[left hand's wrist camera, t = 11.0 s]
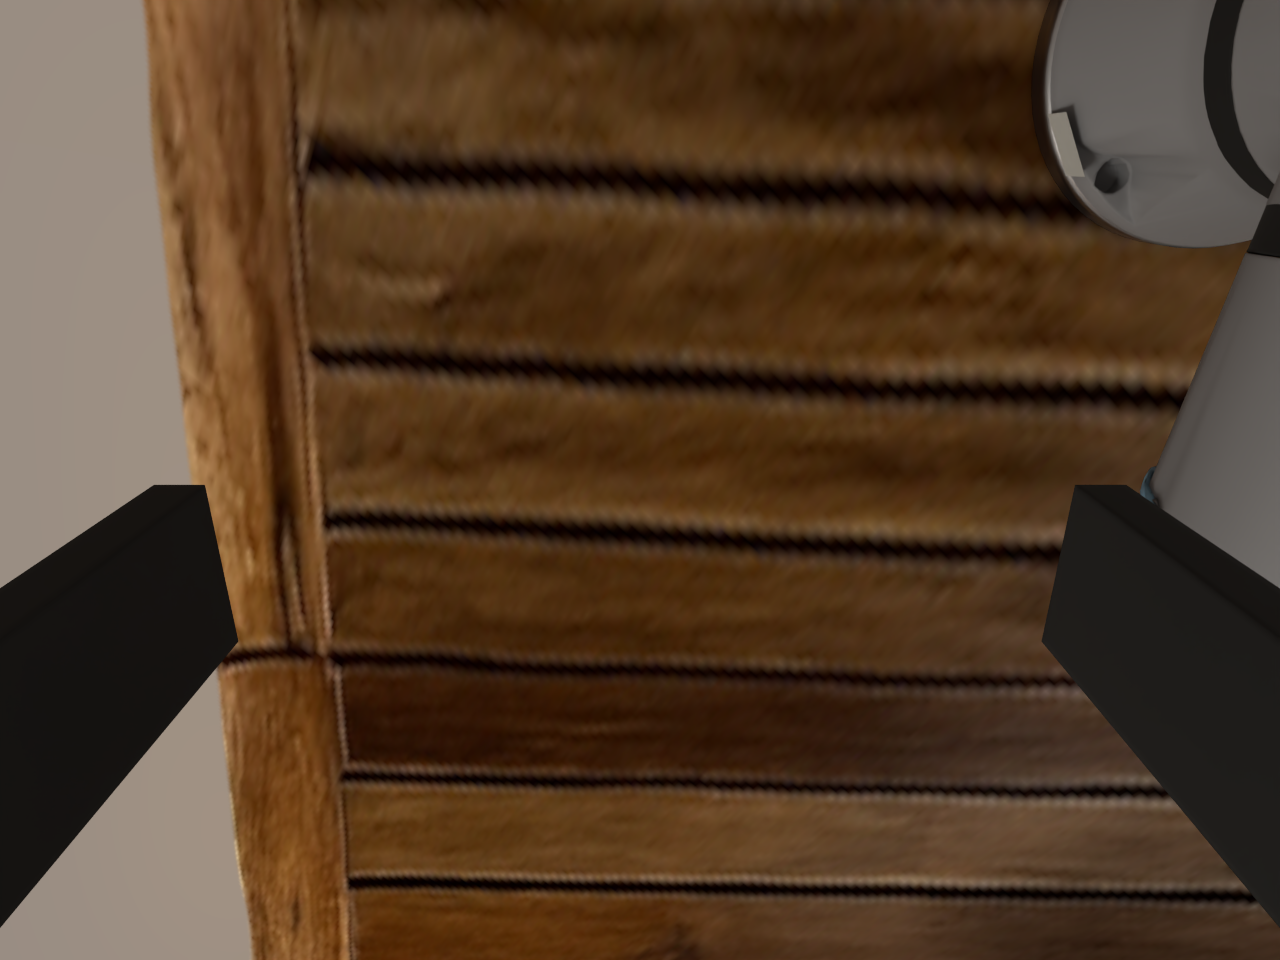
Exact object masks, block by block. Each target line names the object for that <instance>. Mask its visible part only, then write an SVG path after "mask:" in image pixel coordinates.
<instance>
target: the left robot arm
mask: <svg viewBox="0 0 1280 960" xmlns="http://www.w3.org/2000/svg"><path fill="white" fill-rule="evenodd" d="M1031 97H1032V113H1033V120H1034V126H1035V132H1036V136H1037V140H1038V143H1039V147H1040V150H1041V153H1042V156H1043V158H1044V161H1045V163H1046V166H1047V168H1048V170H1049V171H1050V173H1051V175H1052V177H1053V179H1054V181H1055V182H1056V184H1057V185H1058V187H1059V188H1060V190H1061V191H1062V193H1063V194H1064V195H1065V196H1066V197H1067V198H1068V200H1069V201H1070V202H1071V203H1072V204H1073V205H1074V206H1075V207H1076V208H1077V209H1078V210H1079V211H1080V212H1081V213H1082V214H1084V215H1085V216H1086V217H1088V218H1089V219H1090V220H1092V221H1093V222H1094V223H1096V224H1097V225H1099V226H1101V227H1103V228H1105V229H1107V230H1108V231H1110V232H1113V233H1115V234H1118V235H1120V236H1123V237H1125V238H1129V239H1133V240H1136V241H1140V242H1146V243H1152V244H1158V245H1164V246H1171V247H1178V248H1208V247H1216V246H1223V245H1229V244H1234V243H1239V242H1244V241H1248V240H1252V241H1251V243H1250V246H1249V248H1248V250H1247V252H1248V253H1245V255H1244V258H1243V260H1242V263H1241V265H1240V267H1239V270H1238V272H1237V275H1236V277H1235V279H1234V282H1233V284H1232V287H1231V289H1230V291H1229V294H1228V296H1227V299H1226V301H1225V303H1224V306H1223V308H1222V311H1221V313H1220V315H1219V318H1218V320H1217V322H1216V325H1215V327H1214V330H1213V332H1212V334H1211V337H1210V339H1209V342H1208V344H1207V346H1206V349H1205V351H1204V354H1203V356H1202V358H1201V361H1200V363H1199V366H1198V368H1197V370H1196V373H1195V375H1194V378H1193V380H1192V382H1191V385H1190V387H1189V390H1188V392H1187V394H1186V397H1185V399H1184V402H1183V404H1182V406H1181V409H1180V411H1179V414H1178V416H1177V418H1176V421H1175V423H1174V426H1173V428H1172V430H1171V433H1170V435H1169V438H1168V440H1167V442H1166V445H1165V447H1164V450H1163V452H1162V454H1161V457H1160V459H1159V462H1158V464H1157V466H1155V467H1152V468H1150V469H1149V471H1148V472H1147V474H1146V476H1145V477H1144V480H1143V483H1142V487H1141V491H1140V494H1141V495H1140V494H1139V493H1137V492H1136V491H1134V490H1133V489H1131V488H1130V487H1128V486H1127V485H1075V488H1074V493H1073V498H1072V502H1071V507H1070V512H1069V516H1068V521H1067V526H1066V530H1065V535H1064V540H1063V544H1062V549H1061V554H1060V558H1059V563H1058V568H1057V572H1056V577H1055V582H1054V586H1053V591H1052V596H1051V600H1050V605H1049V610H1048V614H1047V619H1046V623H1045V628H1044V633H1043V637H1042V642H1043V644H1044V645H1045V646H1046V647H1047V648H1048V650H1049V651H1050V652H1051V653H1052V654H1053V656H1054V657H1055V658H1056V659H1057V660H1058V662H1059V663H1060V664H1061V665H1062V666H1063V668H1064V669H1065V670H1066V671H1067V672H1068V674H1069V675H1070V676H1071V677H1072V678H1073V680H1074V681H1075V682H1076V683H1077V684H1078V686H1079V687H1080V688H1081V689H1082V691H1083V692H1084V693H1085V694H1086V695H1087V697H1088V698H1089V699H1090V700H1091V701H1092V703H1093V704H1094V705H1095V706H1096V707H1097V709H1098V710H1099V711H1100V712H1101V713H1102V715H1103V716H1104V717H1105V718H1106V719H1107V721H1108V722H1109V723H1110V724H1111V725H1112V727H1113V728H1114V729H1115V730H1116V731H1117V733H1118V734H1119V735H1120V736H1121V737H1122V739H1123V740H1124V741H1125V742H1126V743H1127V745H1128V746H1129V747H1130V748H1131V749H1132V751H1133V752H1134V753H1135V754H1136V755H1137V757H1138V758H1139V759H1140V760H1141V761H1142V763H1143V764H1144V765H1145V766H1146V767H1147V769H1148V770H1149V771H1150V772H1151V773H1152V775H1153V776H1154V777H1155V778H1156V779H1157V781H1158V782H1159V783H1160V784H1161V785H1162V787H1163V788H1164V789H1165V790H1166V791H1167V793H1168V794H1169V795H1170V796H1171V798H1172V799H1173V800H1174V801H1175V802H1176V804H1177V805H1178V806H1179V807H1180V808H1181V810H1182V811H1183V812H1184V813H1185V814H1186V816H1187V817H1188V818H1189V819H1190V820H1191V822H1192V823H1193V824H1194V825H1195V826H1196V828H1197V829H1198V830H1199V831H1200V832H1201V834H1202V835H1203V836H1204V837H1205V838H1206V840H1207V841H1208V842H1209V843H1210V844H1211V846H1212V847H1213V848H1214V849H1215V850H1216V852H1217V853H1218V854H1219V855H1220V856H1221V858H1222V859H1223V860H1224V861H1225V862H1226V864H1227V865H1228V866H1229V867H1230V868H1231V870H1232V871H1233V872H1234V873H1235V874H1236V876H1237V877H1238V878H1239V879H1240V880H1241V882H1242V883H1243V884H1244V885H1245V886H1246V888H1247V889H1248V890H1249V891H1250V892H1251V894H1252V895H1253V896H1254V897H1255V899H1256V900H1257V901H1258V902H1259V903H1260V905H1261V906H1262V907H1263V908H1264V909H1265V911H1266V912H1267V913H1268V914H1269V915H1270V917H1271V918H1272V919H1273V920H1274V921H1275V923H1276V924H1277V925H1278V926H1279V927H1280V0H1050V3H1049V5H1048V8H1047V11H1046V13H1045V16H1044V19H1043V23H1042V26H1041V29H1040V33H1039V36H1038V41H1037V46H1036V51H1035V56H1034V63H1033V72H1032V92H1031ZM1249 253H1250V254H1249ZM1262 255H1263V256H1262ZM1269 256H1271V257H1269ZM1275 257H1278V258H1275ZM237 642H238V637H237V633H236V628H235V624H234V619H233V614H232V610H231V605H230V600H229V596H228V591H227V586H226V582H225V577H224V572H223V568H222V563H221V558H220V554H219V549H218V544H217V540H216V535H215V530H214V526H213V521H212V516H211V512H210V507H209V502H208V498H207V493H206V488H205V485H153V486H152V487H150V488H149V489H147V490H146V491H144V492H143V493H141V494H140V495H138V496H137V497H135V498H134V499H132V500H131V501H129V502H128V503H126V504H125V505H123V506H122V507H120V508H119V509H118V510H116V511H115V512H113V513H112V514H110V515H109V516H107V517H106V518H104V519H103V520H101V521H100V522H98V523H97V524H95V525H94V526H92V527H91V528H89V529H88V530H86V531H85V532H83V533H82V534H80V535H79V536H77V537H76V538H74V539H73V540H71V541H70V542H68V543H67V544H65V545H64V546H62V547H61V548H59V549H58V550H56V551H55V552H53V553H52V554H51V555H49V556H48V557H46V558H45V559H43V560H42V561H40V562H39V563H37V564H36V565H34V566H33V567H31V568H30V569H28V570H27V571H25V572H24V573H22V574H21V575H19V576H18V577H16V578H15V579H13V580H12V581H10V582H9V583H7V584H6V585H4V586H3V587H1V588H0V927H1V926H2V925H3V924H4V923H5V921H6V920H7V919H8V918H9V917H10V915H11V914H12V913H13V912H14V911H15V909H16V908H17V907H18V906H19V905H20V903H21V902H22V901H23V900H24V898H25V897H26V896H27V895H28V894H29V892H30V891H31V890H32V889H33V888H34V886H35V885H36V884H37V883H38V882H39V880H40V879H41V878H42V877H43V876H44V874H45V873H46V872H47V871H48V870H49V868H50V867H51V866H52V865H53V864H54V862H55V861H56V860H57V859H58V858H59V856H60V855H61V854H62V853H63V852H64V850H65V849H66V848H67V847H68V846H69V844H70V843H71V842H72V841H73V840H74V838H75V837H76V836H77V835H78V834H79V832H80V831H81V830H82V829H83V828H84V826H85V825H86V824H87V823H88V822H89V820H90V819H91V818H92V817H93V815H94V814H95V813H96V812H97V811H98V810H99V808H100V807H101V806H102V805H103V804H104V802H105V801H106V800H107V799H108V797H109V796H110V795H111V794H112V793H113V791H114V790H115V789H116V788H117V787H118V785H119V784H120V783H121V782H122V781H123V779H124V778H125V777H126V776H127V775H128V773H129V772H130V771H131V770H132V769H133V767H134V766H135V765H136V764H137V763H138V761H139V760H140V759H141V758H142V757H143V755H144V754H145V753H146V752H147V751H148V749H149V748H150V747H151V746H152V745H153V743H154V742H155V741H156V740H157V739H158V737H159V736H160V735H161V734H162V733H163V731H164V730H165V729H166V728H167V727H168V725H169V724H170V723H171V722H172V721H173V719H174V718H175V717H176V716H177V715H178V713H179V712H180V711H181V710H182V708H183V707H184V706H185V705H186V704H187V703H188V701H189V700H190V699H191V698H192V697H193V695H194V694H195V693H196V692H197V691H198V689H199V688H200V687H201V686H202V684H203V683H204V682H205V681H206V680H207V678H208V677H209V676H210V675H211V674H212V672H213V671H214V670H215V669H216V668H217V666H218V665H219V664H220V663H221V662H222V660H223V659H224V658H225V657H226V656H227V654H228V653H229V652H230V651H231V650H232V648H233V647H234V646H235V645H236V644H237Z"/></svg>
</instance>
